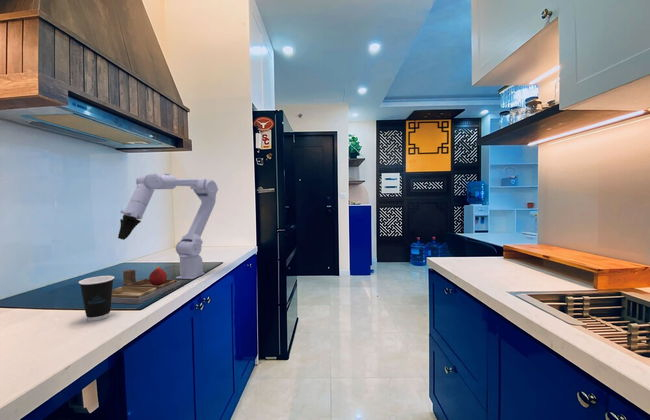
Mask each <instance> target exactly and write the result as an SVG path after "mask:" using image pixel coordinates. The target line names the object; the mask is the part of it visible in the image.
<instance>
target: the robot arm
mask: <svg viewBox="0 0 650 420" xmlns="http://www.w3.org/2000/svg"><path fill="white" fill-rule="evenodd" d="M135 183H136V187H135V190H134V191H133V193H132V195H131V198H130V200H129V202H128V204H127V206H126V208H125V210H123V209H122V210H121V209H120V211H119V212H120V214H123V216H122V218H120V227H119V231H118V236H117V239H118V240H119V239H120V240H123V241H124V240H126V239H128V237H129V236H130V234H131V233H132V232H133V230H134V229H135V228H136V227H137V226H138V225H139V224H140V223H141V222H142V221H141V220H142V219H143V216H144V214H145V211H146V210H147V206H148V205H149V204H150V201H151V199H152V197H153V194H154V192H155V190H173V189H175V188H176V187H190V189H191V190H193V192H194V193H195V195H196V196H197V198H198V199H199V200H200V202H201V203H200V206H199V208H198V210H197V212H196V215H195V217H194V219H193V221H192V223H191V225H190V227H189V230H188V232H187V233H186V234H185V235H183V236H182V237H181V239H180V241H178V242H177V243H176V246H175V251H176V253H177V254H178V257H179V276H176V277H175V280H176V279H177V280H178V279H180V280H193V279H196V278H198V277H200V276H202V275H204V274H205V272H204V270H203V266H204V265H203V263H204V262H203V257H202V256H201V255H200V254H201V251H202V245H203V242H204V241H203V240H202V238H201V236H202V235H203V232H204V230H205V227H206V225H207V222H208V221H209V218H210V216H211V214H212V212H213V210H214V207H215V205H216V202H217V201H216V198H217V197H216V196H217V194H218V191H219V187H218V185H217V182H216V181H215V180H213V179H209V180H208V179H206V178H198V177H197V178H196V177H195V178H193V177H191V178H189V177H188V178H186V177H185V178H176V177H175V176H174V175H173V174H171V173H164V174H157V173H152V174H151V173H150V174H149V173H147V174H142V175H140V176H139V177H138V178H136V180H135Z"/></svg>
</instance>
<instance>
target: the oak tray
mask: <svg viewBox="0 0 650 420" xmlns="http://www.w3.org/2000/svg"><path fill="white" fill-rule="evenodd" d="M155 291H157V288H154V287H127V286H124V285H122V286H119V287H116V288H114V289H113V287H112V297H117V298H141V297H143V296H145V295H148V294H150V293H152V292H155Z"/></svg>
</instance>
